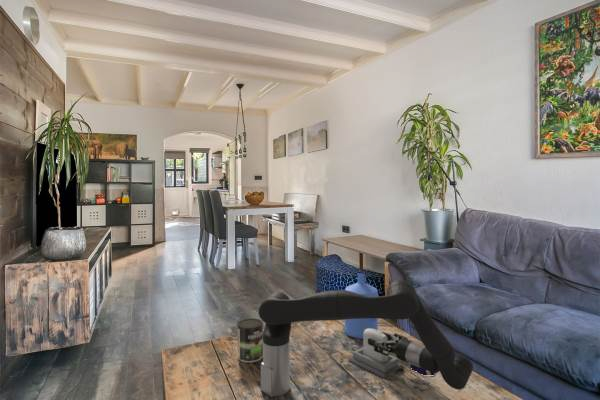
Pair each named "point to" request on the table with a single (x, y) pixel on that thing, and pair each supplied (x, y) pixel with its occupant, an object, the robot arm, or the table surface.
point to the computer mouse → (421, 370)
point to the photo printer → (369, 349)
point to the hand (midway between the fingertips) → (374, 337)
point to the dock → (375, 364)
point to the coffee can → (250, 340)
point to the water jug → (358, 326)
